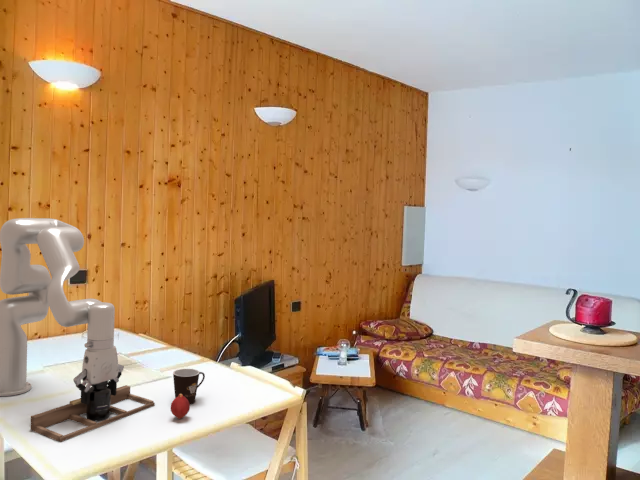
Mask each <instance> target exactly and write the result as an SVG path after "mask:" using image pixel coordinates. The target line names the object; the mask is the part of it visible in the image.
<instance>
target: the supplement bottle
mask: <svg viewBox="0 0 640 480" xmlns="http://www.w3.org/2000/svg"><path fill="white" fill-rule="evenodd" d="M88 391H90V403H89V404H88V405H87V407H86V414H85V418H86V419H89V420H92V421H95V422H101V421H104V420H106V419H109V418H110V416H111V412H110V406H111V405H110V404H111V389H110V387H109V386H108V381H105V382H102V383H99V384H92V385H91V387H90V388H89V390H88Z"/></svg>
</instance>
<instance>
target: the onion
mask: <svg viewBox="0 0 640 480" xmlns="http://www.w3.org/2000/svg"><path fill="white" fill-rule="evenodd" d="M190 409H191V404H189V401H188V400H187V399H186V398H185V397H184V396H183V395H182V394H179V395H178V397H176V398H175V397H174V398H173V400H172V401H171V404H170V412H171V414H172V415H173V416H174V417H176V418H177V419H178V420H182V419H183V418H185V416H187V415H188V413H189V412H190Z"/></svg>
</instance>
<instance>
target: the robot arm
mask: <svg viewBox="0 0 640 480" xmlns="http://www.w3.org/2000/svg"><path fill="white" fill-rule="evenodd" d="M30 244H31V245H33V244H34V245H37V246H38V248H39V250H40V253H41V255H42V257H43V259H44V262H45V263H46V266H47V267H46V266H44V265H42V264H31V260H32V259H31V258H32V254H31V250H30V248H29V247H28V245H30ZM84 244H85V238H84V234H83V233H82V232H81V230H80V229H79V228H77V227H76V226H74V225H71V224H69V223H66V222H65V221H61V220H59V219H56V218H48V217H47V218H46V217H45V218H44V217H41V218H40V217H39V218H38V217H36V218H35V217H19V218H12V219H9V220H6V221H5V222H4V223H3V224H2V225H1V227H0V249H1V260H0V291H1V292H2V293H3V294H6V295H10V296H11V295H21V294H22V296H14V297H7V298H3V299H0V397H10V396H17V395H20V394H25V393H27V392H28V391H29V392H30V390H31V389H32V385H33V384H32V383H31V382H29V381H27V377H28V375H27V374H28V368H27V367H28V336H27V334H26V332H25V330H24V329H23V328H22V326H23V325H28V324H33V323H37V322H41V321H43V320H44V319H46V318H47V316H48V313H49V309H50V312H51V314H52V316H53V318H54V320H55V321H56V323H57V324H58V325H60V326H61V327H64V328H71V327H77V326H79V325H86V324H87V331H86V333H87V334H86V336H87V338H86V339H87V340H86V343H84V348H86V349H85V351H84V354H83V360H82V367H81V372H79V373H78V374H77V375H76V376H75V377H74V378H73V382H74V385H75V387H76V388H77V389H78V390H79V391H80V398H81V403H83V404H86V405H88V404H89V403H90V391H88V390H89V388H90V387H92V386H91V385H92V384H99V383H102V382H105V381H108V385H107V386H109V387H110V389H111V395H114V396H115V395H116V390H117V388H118V387H117V386H118V385H117V384H118V382H119V380H120V378H121V376H122V373H123V371H124V369H125V366H124V365H122V364H119V357H118V350H117V347H116V345H115V344H114V343H115V319H116V318H115V317H116V316H115V315H116V311H115V306H114V304H113V303H111V302H106V301H105V302H102V301H101V300H100V299H97V298H85V299H83V298H82V299H76V300H70V301H69V300H68V298H67V296H66V294H65V290H64V285H65V281H68V280H69V279H71V278H72V277H74V276H75V275H76V274H78V272H79V271H80V267H81V266H80V264H79V262H78V259H77V257H76V255H75V253H77V252H80V250H82V248H83V247H84ZM23 294H28V295H24V296H23Z"/></svg>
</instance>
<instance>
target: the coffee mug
mask: <svg viewBox="0 0 640 480" xmlns="http://www.w3.org/2000/svg"><path fill="white" fill-rule="evenodd" d="M172 375H173V376H172V377H173V387H174V388H173V389H174V399H175V398H176V397H178V395H179V394H182V395H183V396H184V397H185V398H186V399H187V400H188V401H189V404H190V405H193V404H195V402H196V398H197V397H196V396H197V391H198V388H199V387H200V386H201V385H202V384H203V382H204V381H205V375H206V374H205V373H204V372H203V371H200V370H198V369H194V368H180V369H179V368H178V369H176V370H174V371H173V373H172ZM200 375H202V379H201V381H200V382H199V378H200Z"/></svg>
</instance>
